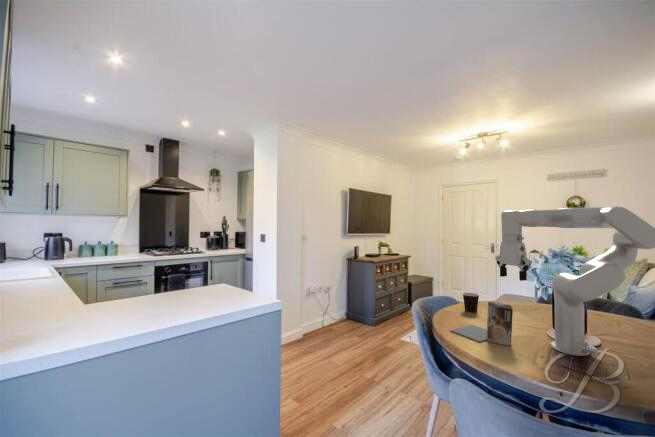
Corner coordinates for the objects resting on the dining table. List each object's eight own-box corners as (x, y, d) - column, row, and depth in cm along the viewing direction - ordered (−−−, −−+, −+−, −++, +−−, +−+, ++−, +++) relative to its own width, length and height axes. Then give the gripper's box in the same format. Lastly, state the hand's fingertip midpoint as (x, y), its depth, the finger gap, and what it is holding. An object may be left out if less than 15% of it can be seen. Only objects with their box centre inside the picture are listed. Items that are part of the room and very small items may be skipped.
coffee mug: (467, 308, 181) (466, 291, 181) (481, 311, 174) (481, 294, 174) (457, 312, 173) (457, 295, 174) (472, 315, 167) (472, 297, 167)
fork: (562, 365, 110) (562, 360, 110) (620, 386, 96) (620, 380, 96) (559, 367, 108) (559, 361, 108) (617, 389, 94) (617, 382, 94)
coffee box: (509, 340, 132) (511, 304, 131) (511, 346, 126) (513, 309, 125) (485, 335, 136) (488, 301, 135) (486, 341, 130) (489, 305, 129)
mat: (501, 335, 137) (501, 334, 137) (479, 342, 130) (479, 341, 130) (471, 325, 151) (471, 324, 151) (450, 331, 143) (450, 330, 143)
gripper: (537, 239, 121) (538, 281, 121) (502, 237, 138) (503, 274, 138) (523, 240, 119) (524, 282, 119) (489, 238, 136) (489, 275, 136)
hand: (512, 278), depth 128 cm, fingers open, 9 cm apart
